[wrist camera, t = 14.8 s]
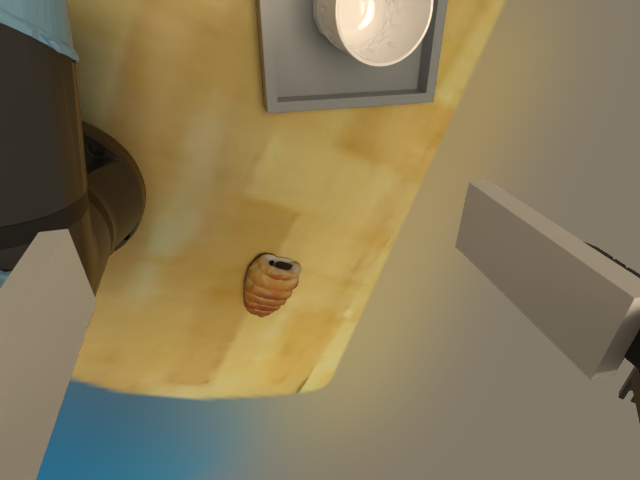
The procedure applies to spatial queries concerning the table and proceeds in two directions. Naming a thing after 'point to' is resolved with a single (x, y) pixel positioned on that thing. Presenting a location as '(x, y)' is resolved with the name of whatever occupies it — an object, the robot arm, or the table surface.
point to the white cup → (374, 27)
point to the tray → (336, 64)
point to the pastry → (269, 284)
